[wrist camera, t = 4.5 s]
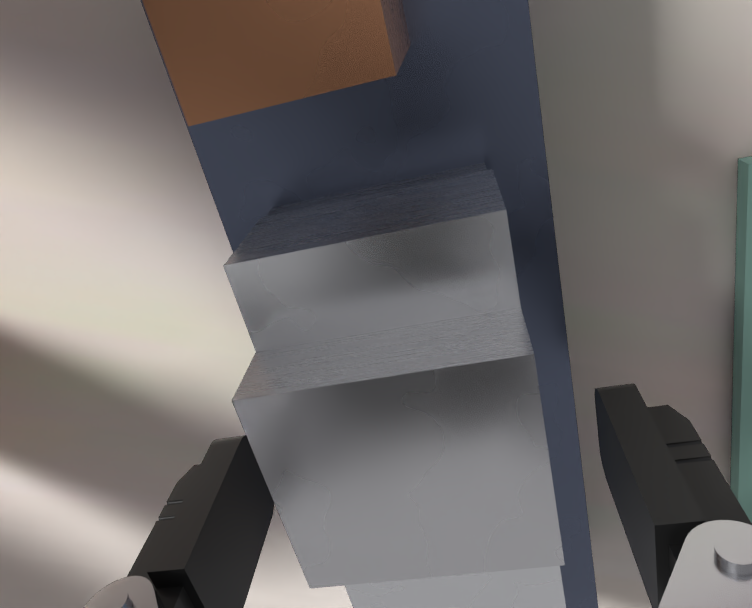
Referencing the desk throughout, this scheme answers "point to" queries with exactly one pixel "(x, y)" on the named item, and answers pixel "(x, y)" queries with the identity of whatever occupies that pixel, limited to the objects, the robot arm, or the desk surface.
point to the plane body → (385, 146)
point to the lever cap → (400, 399)
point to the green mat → (743, 345)
